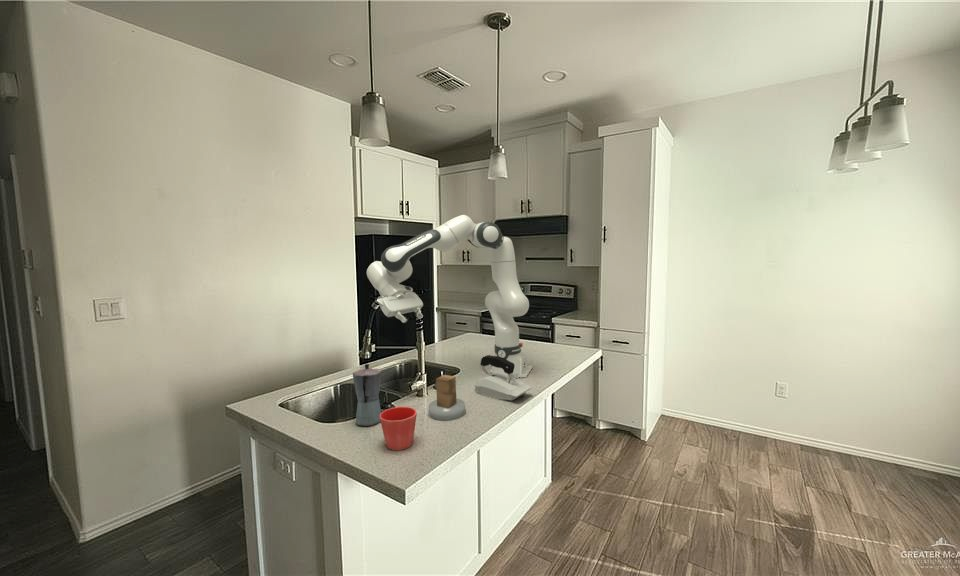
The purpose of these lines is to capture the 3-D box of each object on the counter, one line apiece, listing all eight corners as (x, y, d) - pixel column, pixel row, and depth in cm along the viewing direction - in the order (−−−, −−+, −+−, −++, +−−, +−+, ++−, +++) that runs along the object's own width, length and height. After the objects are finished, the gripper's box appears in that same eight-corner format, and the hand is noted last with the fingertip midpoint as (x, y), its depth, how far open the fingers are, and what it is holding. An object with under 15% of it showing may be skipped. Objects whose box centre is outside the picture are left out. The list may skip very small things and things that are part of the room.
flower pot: (394, 433, 123) (393, 404, 122) (424, 438, 118) (423, 408, 118) (373, 449, 113) (372, 417, 112) (405, 456, 109) (403, 423, 108)
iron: (517, 405, 142) (516, 366, 141) (468, 392, 157) (466, 356, 156) (532, 396, 150) (531, 359, 149) (484, 384, 166) (483, 350, 164)
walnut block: (445, 401, 140) (444, 374, 139) (456, 403, 138) (455, 376, 137) (437, 406, 136) (435, 378, 135) (448, 408, 133) (447, 380, 132)
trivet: (442, 403, 146) (442, 395, 146) (471, 409, 139) (471, 401, 139) (421, 416, 135) (421, 408, 135) (451, 423, 128) (451, 415, 128)
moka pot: (384, 411, 140) (381, 358, 138) (383, 429, 125) (380, 370, 124) (356, 414, 138) (353, 360, 136) (353, 433, 123) (349, 373, 121)
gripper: (378, 291, 145) (399, 318, 141) (413, 286, 163) (433, 310, 159) (371, 302, 148) (391, 329, 144) (406, 296, 165) (425, 320, 161)
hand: (413, 319), depth 151 cm, fingers open, 8 cm apart
